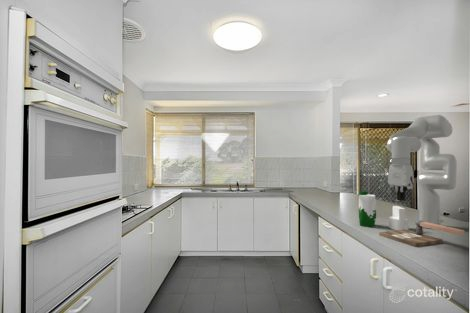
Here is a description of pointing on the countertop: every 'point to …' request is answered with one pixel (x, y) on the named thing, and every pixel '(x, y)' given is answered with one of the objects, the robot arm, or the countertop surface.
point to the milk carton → (367, 209)
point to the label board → (411, 237)
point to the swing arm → (440, 227)
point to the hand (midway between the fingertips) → (401, 200)
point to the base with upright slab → (398, 219)
